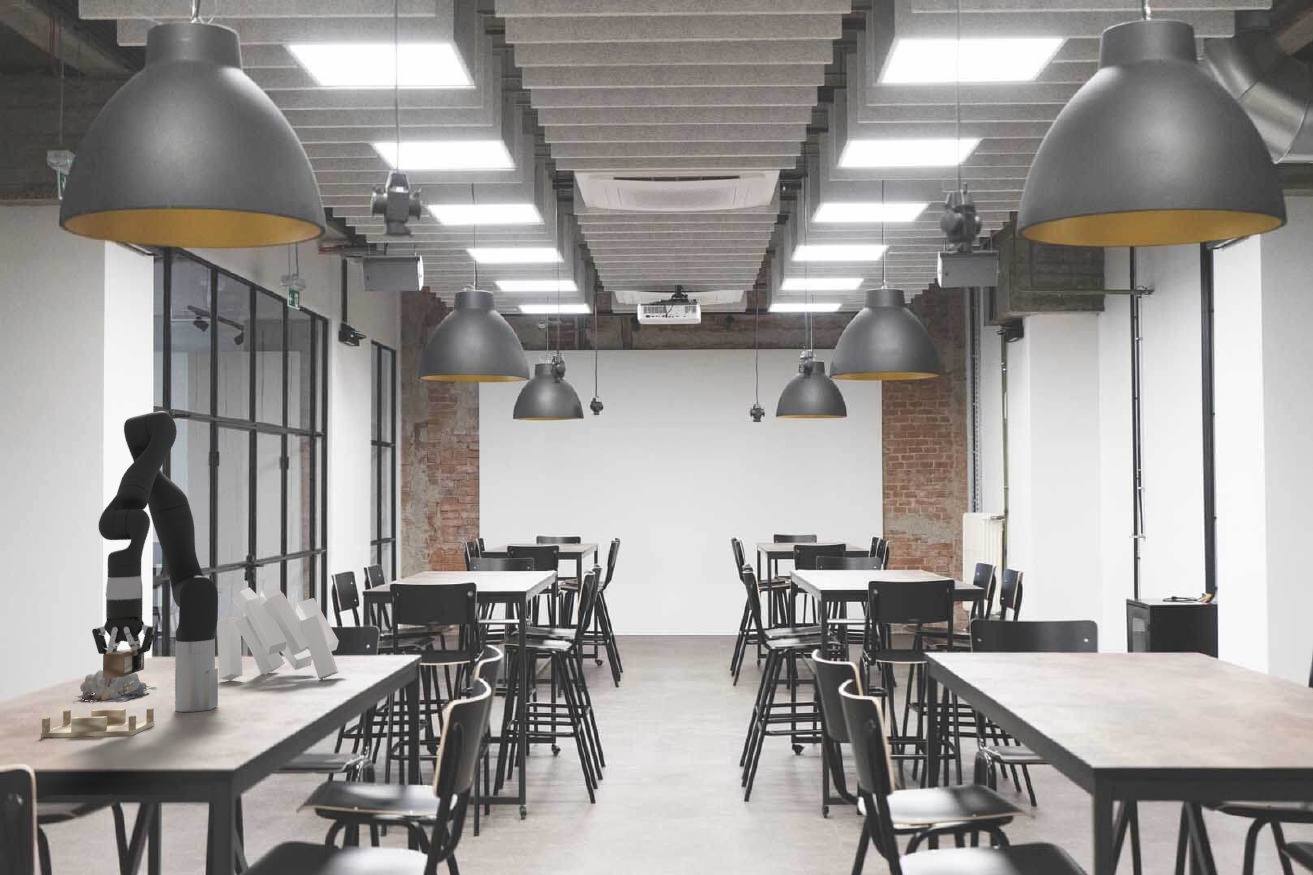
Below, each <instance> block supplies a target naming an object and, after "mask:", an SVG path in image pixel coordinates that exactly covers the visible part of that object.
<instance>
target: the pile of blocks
mask: <svg viewBox="0 0 1313 875" xmlns="http://www.w3.org/2000/svg"><path fill="white" fill-rule="evenodd" d="M231 602H232V603H233V605H235V606H236V607H237V608H238V609H239V610H240V611H241V612H242V613H243V614H244V616H242V617H241V618H240V617H238V616H232V615H228V616H225V617H223V618H220V619H218V620H217V628H216V632H217V656H218V657H217V661H218V662H217V663H218V680H222V681H223V680H224V681H233V680H235V679H237V678H239V677H242V676H243V674H244V673H243V656H242V655H243V654H242V639H243V641H244V642H245V644H246V645H247V647H248V649H249V650H250V652H251V654H252V656H253V658H254V662H255V664H256V666H257V669H258V672H259V674H260V675H268V674H269V673H272V672H274V671H275V670H277V669H279V668H281V666H283V665H284V664H286V663H285V662H286V661H287V662H288V663H289V665H291V667H292V668H293V670H294V671H297V670H300V669H302V668H307V667H310V666H311V665H312V662H313V666H314V669H315V671H316V674H317V675H316V676H317V677H318V679H320V680H323V678H324V679H326V678H329V677H331V676H333V675H337V674H339V670H338V666H337V664H336V661H335V658H334V655H333V652H334V651H336V650H338V649H337V648H338V645H339V642H340V640H339V639H338V637H337V635H336V634H335V632H334V630H333V628H332V627H331V625H330V623H329V621H328V620H327V618H326V617H325V615H324V613H323V611H322V610H321V608H320V606H319V604H318V603H317V601H316V599H315V598H314V597H312V598H308V599H304V600H300V601H297V603H296V607H295V611H294V609H293V606H292V605H291V604H290V602H289V601H288V598H287V597H286V595H285V593H284V592H282V591H281V589H280V587H279V585H275V586H272V587H267V588H264V589H261V591H260V596H259V595H258V594H257V593H255V591H254V590H253V589H252V588H251V587H246V588H244V589H242V590H241V591H239V592H238V593H237V594H236V595H235V596H234V598H233V599H232V600H231ZM241 637H242V638H241ZM281 654H282V655H281ZM282 656H283V657H284V658H285V659H286V661H285V660H284V659H283V657H282Z"/></svg>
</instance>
